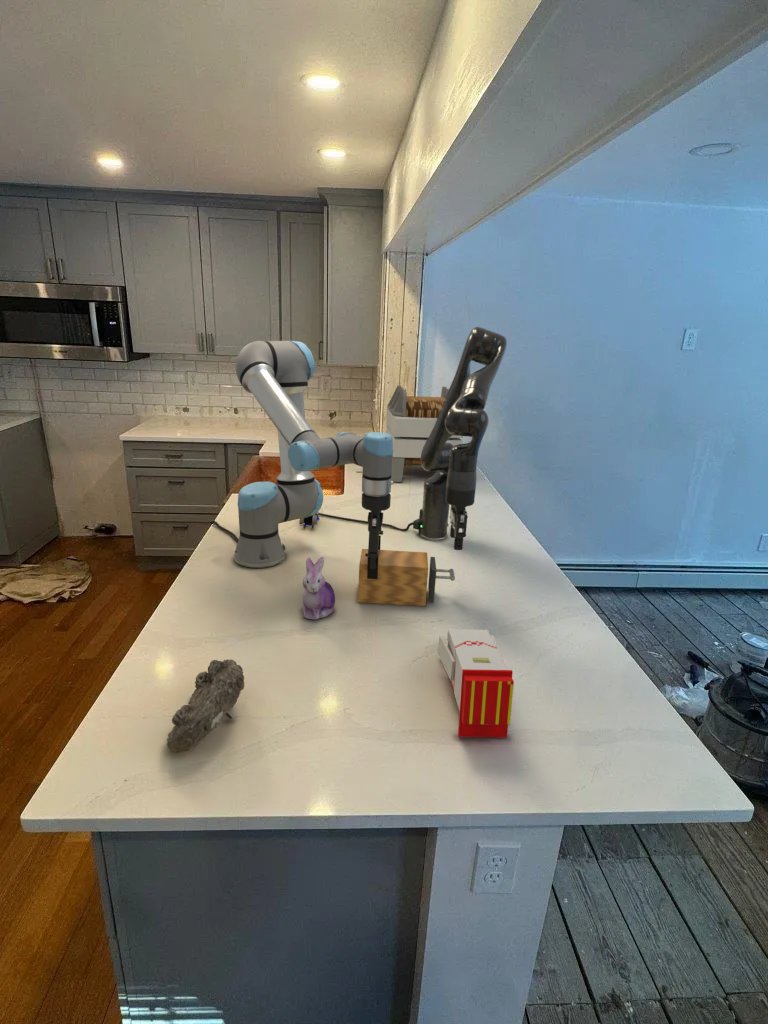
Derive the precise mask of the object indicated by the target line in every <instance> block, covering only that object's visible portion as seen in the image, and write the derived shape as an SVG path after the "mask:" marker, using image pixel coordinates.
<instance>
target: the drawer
mask: <svg viewBox="0 0 768 1024" xmlns="http://www.w3.org/2000/svg"><path fill="white" fill-rule="evenodd" d="M437 573H449V575H437ZM437 579H439V580H440V579H441V580H451V581H452V582H453V581H455V580H456V576H455V570H454V569H453V568H449V569H443V568H442V569H441V568H437V564H436V557H435V556H430V559H429V569H428V582H427V591H428V602H429V603H434V602H435V591H436V582H437V581H436V580H437Z"/></svg>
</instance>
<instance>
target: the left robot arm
mask: <svg viewBox="0 0 768 1024" xmlns="http://www.w3.org/2000/svg"><path fill="white" fill-rule="evenodd" d="M315 370H316V367H315V359H314V355H313V353H312V351H311V350H310V348H309V347H308V346H307V344H305V343H304V342H302V341H296V340H255V341H252V342H250V343H247V344H246V345H245V346H243V348H242V349H240V351H239V353H238V355H237V357H236V361H235V374H236V377H237V379H238V381H239V384H240V385H241V386H242V388H243V389H244V391H246V392H247V393H249V394H252V396H253V397H254V399H255V400H256V402H257V403H258V404H259V406H260V407H261V408H262V410H263V411H264V413H265V414H266V415H267V416H268V418H269V419H270V421H271V422H272V423H273V425H274V426H275V428H276V429H277V439H278V449H279V461H280V463H279V464H280V473H279V474H278V475H277V477H276V483H275V482H273V481H269V480H267V481H256V482H251V483H248V484H246V485H244V486H243V487H242V488H240V490H239V491H238V494H237V512H238V513H237V514H238V530H239V537H238V536H237V535H236V534H235V533H234V532H233V531H231V530H229V529H227V528H225V527H223V526H222V525H220V524H219V523H218V522H217V521H216V520H212V521H211V522H210V525H215V527H217V528H218V529H220V530H221V531H224V532H225V533H227V534H229V535H230V536H232V538H233V539H234V540H235V542H237V543H236V547H235V550H234V561H235V563H236V564H237V565H239V566H242V567H246V568H249V569H250V568H251V569H264V568H265V569H266V568H271V567H274V566H276V565H279V564H281V563H282V562H284V561H285V559H286V552H285V551H286V545H285V544H284V543H283V542H282V541H281V537H280V534H279V524H282V523H287V522H291V521H296V520H300V518H307V517H309V516H312V515H315V514H316V513H317V512H318V513H319V511H320V510H321V509H322V506H323V503H324V490H323V487H322V484H321V483H320V482H319V481H318V480H317V479H315V474H314V473H313V471H316V470H322V469H325V468H326V469H327V468H332V467H339V466H344V465H351V464H352V465H356V466H359V467H361V468H362V476H361V492H362V494H361V507H362V508H363V509H364V510H367V511H368V513H367V514H368V515H367V521H368V524H367V531H368V545H367V546H368V548H367V549H368V554H365V557H368V566H367V579H378V550H381V538H382V536H383V535H384V530H382V526H381V525H382V523H384V512H385V511H387V510H389V509H390V508H391V503H392V501H391V499H392V497H391V494H390V493H391V492H392V486H393V485H394V483H395V482H393V481H391V476H392V475H391V474H392V457H393V439H392V436H391V435H389V434H387V433H386V432H381V431H371V432H366V433H365V434H364V435H363V436H362V435H358V434H356V433H353V432H347V431H341V432H339V433H337V434H336V435H335V436H332V437H331V436H330V437H323V438H321V437H320V436H319V435H318V433H317V432H316V431H315V430H314V428H313V427H312V425H310V423H309V422H308V421H307V419H306V411H305V398H304V397H305V395H304V394H305V393H304V392H305V391H306V390H307V389H308V388H309V382H308V381H310V380H311V379H313V377H314V373H315ZM382 511H384V512H382Z"/></svg>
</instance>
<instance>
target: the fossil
mask: <svg viewBox="0 0 768 1024" xmlns="http://www.w3.org/2000/svg"><path fill="white" fill-rule="evenodd" d="M243 670H244V669H243V667H242V665H240V664H237V662H236V661H235V660H234V659H232V658H231V659H227V658H226V659H224V660H223V661H222V660H217V659H212V660H211V661H210V663H209V665H208V666H207V671H201V672H199V673H198V674H197V675H196V676H195V680H194V684H195V685H194V687H195V689H194V690H193V693H192V694H191V697H190V698H189V700H188V704H184V705H182V706H181V707H180V709H177V710H176V711H175V713H174V715H173V716H172V718H171V723H172V724H173V727H172V730H171V731H170V732H168V734H167V738H166V741H167V742H166V745H167V749H168V750H169V751H173V752H174V753H176V754H178V753H182V752H188V751H189V752H192V751H193V750H195V748H196V747H197V746H199V744H200V743H201V742H203V741H204V740H205V739H206V738H207V737H208V736H209V735H210V734H211V733H212V732H214V730H215V729H217V727H218V726H219V724H220V722H221V721H222V720H223V719H224V718H225V716H226V717H227V719H229V720H233V717H232V715H230V714H229V710H230V709H231V708H234V706H235V704H236V703H237V702H238V699H239V697H240V695H241V693H242V691H243V690H245V689H244V688H245V675H244V671H243Z"/></svg>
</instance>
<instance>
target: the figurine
mask: <svg viewBox="0 0 768 1024" xmlns="http://www.w3.org/2000/svg"><path fill="white" fill-rule="evenodd" d="M324 563H325V557H324V556H320V557H319V558H318V559H317V561H316V563H315V564H314V561H313V560H312V558H311V557H307V558H306V561H305V568H306V572H305V575H304V577H303V580H302V586H303V588H304V589H305V590H304V592H303V594H302V603H303V608H302V611H303V617H304V618H305V619H309V620H314V621H315V620H319V619H321V618H327V617H328V616H330V615H331V614H332V613H334V611H335V605H336V604H335V603H336V594H335V590H334V588H333V586H332V585H331V584H330V583H329V582H328V581H327V580H326V579H325V577H324V575H323V573H322V572H323V567H324V565H325V564H324Z"/></svg>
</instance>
